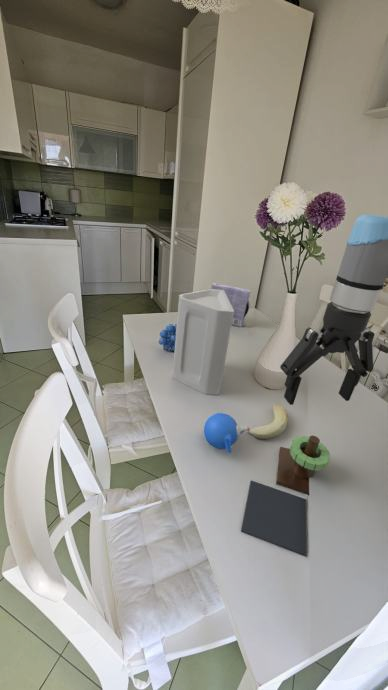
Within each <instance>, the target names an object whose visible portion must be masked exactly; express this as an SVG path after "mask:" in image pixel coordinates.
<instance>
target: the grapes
mask: <svg viewBox="0 0 388 690" xmlns="http://www.w3.org/2000/svg"><path fill="white" fill-rule="evenodd" d="M176 328H177V322H176V323H175V324H172V323H168V324H167V325H166V327H165V329H162V330H161V331H160V332H159V336H160V338H159V339H158V344H159V345H161V346H162V349H163V350H164V351H168V350H170V351H171V352H175V340H176Z"/></svg>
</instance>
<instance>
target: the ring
mask: <svg viewBox="0 0 388 690" xmlns="http://www.w3.org/2000/svg"><path fill="white" fill-rule="evenodd" d="M309 437H310V436H306V435H299V436H296V437H294V439H293V440H292V441H291V443H290V445H289V449H290V454H291V456H292V457H293V459H294V460H295V461H296V462H297V463H298V464H300V465H301V466H302V467H303V466H304V468H307V469H310V470H313V469H314V471H316V472H317V471H322V470H324V469H325V468H326V467H327V466H328V464H329V462H330V460H331V454H330V450H329V449H328V448H327V447H326V445H325V444H324V443H322V442H321V441H320V442H319V445H318V447H317V450H316V453H317V454H318V456H319V458H312V457H308V456H307V455H305V454H304V453H303V452H302V451H301V449H300V448H302V447H306V445H307V443H308V440H309Z"/></svg>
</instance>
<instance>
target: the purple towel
mask: <svg viewBox="0 0 388 690" xmlns="http://www.w3.org/2000/svg"><path fill="white" fill-rule="evenodd" d="M210 289H216V290H224V291H225V293H226V295H227V298H228V300H229V302H230V304H231V306H232V308H233V310H234V314H233V320H232V325H231V326H233V327H239V328H243V326H244V324H245V319H246V316H247V314H248V313H249V310H250V296H251V289H246V288H241V287H236V286H233V285H227V284H223V283H217V282H213V283H211V287H210Z"/></svg>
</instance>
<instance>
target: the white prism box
mask: <svg viewBox="0 0 388 690" xmlns="http://www.w3.org/2000/svg"><path fill="white" fill-rule="evenodd" d="M233 314H234V310H233V308H232V306H231V304H230V302H229V300H228V298H227V295H226V293H225V291H224V290H216V289H211V288H209V289H203V290H197V291H192V292H186V293H181V294H179V295H178V305H177V318H176V323H177V328H176V340H175V351H173V352H174V353H173V364H172V379H173V380H175V381H177V382H179V383H181V384H183V385H186V386H188V387H189V388H192V389H193V390H196V391H198V392H200V393H201V394H204V395H208V396H219V395H220V394H221V387H222V383H223V382H222V381H223V376H224V371H225V366H226V365H225V364H226V359H227V353H228V348H229V342H230V336H231V330H232V326H233V325H232V320H233Z"/></svg>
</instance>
